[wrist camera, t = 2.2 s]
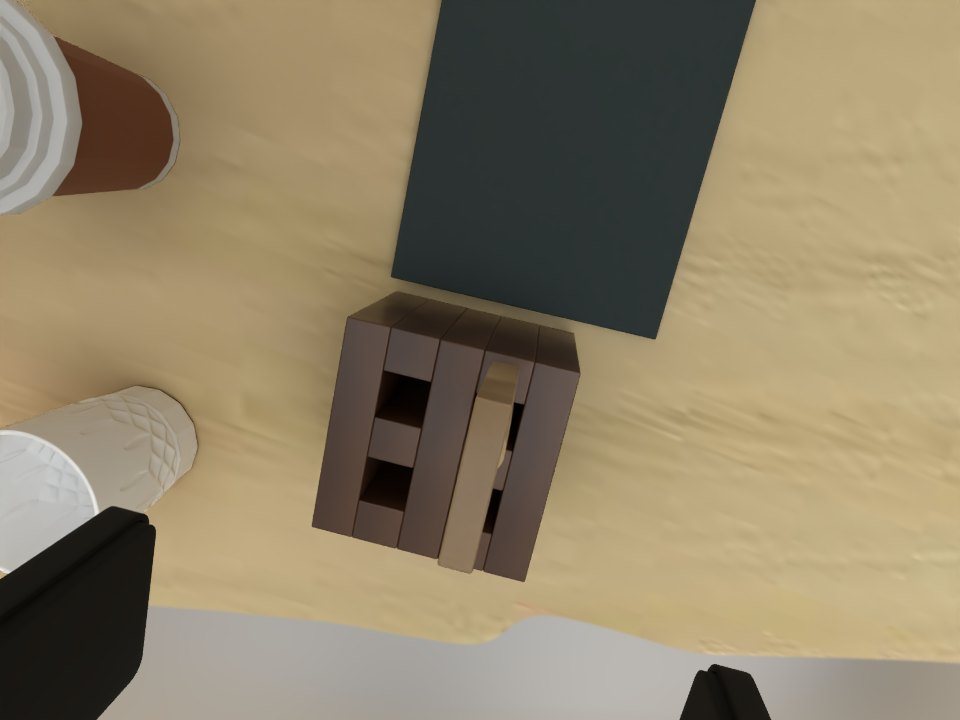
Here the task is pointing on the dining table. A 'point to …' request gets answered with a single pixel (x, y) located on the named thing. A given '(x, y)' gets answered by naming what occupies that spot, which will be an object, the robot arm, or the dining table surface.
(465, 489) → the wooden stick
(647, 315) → the mat
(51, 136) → the coffee cup
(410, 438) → the utensil block
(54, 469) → the white cup
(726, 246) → the dining table surface
